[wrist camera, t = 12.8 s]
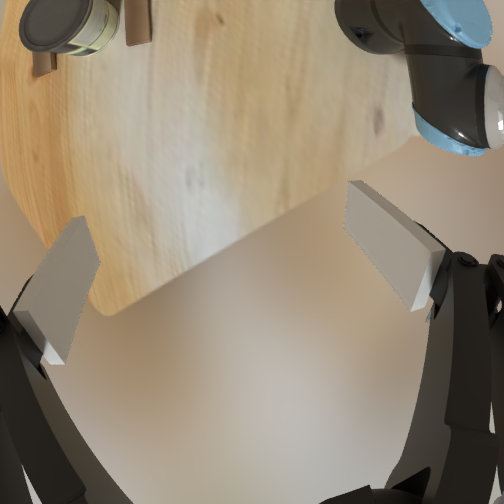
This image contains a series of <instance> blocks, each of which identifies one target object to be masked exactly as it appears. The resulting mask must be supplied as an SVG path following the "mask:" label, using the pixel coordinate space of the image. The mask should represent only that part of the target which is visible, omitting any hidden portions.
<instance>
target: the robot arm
mask: <svg viewBox="0 0 504 504" xmlns="http://www.w3.org/2000/svg"><path fill="white" fill-rule="evenodd" d="M335 14H336V18H337V21H338V23H339V25H340V27H341V29H342V31H343V32H344V34H345V35H346V36H347V37H348V38H349V40H350V41H351V42H353V43H354V44H355V45H356V46H358V47H359V48H361V49H363V50H364V51H367V52H369V53H373V54H380V55H382V54H394V53H397V52H399V51H401V50H403V49H404V48H405V54H406V59H407V65H408V71H409V77H410V84H411V91H412V99H413V102H412V108H413V111H414V114H415V122H416V127H417V130H418V131H419V132H420V134H421V136H422V137H423V138H425V139H426V140H427V141H428V142H430V143H431V144H433V145H435V146H437V147H439V148H441V149H444V150H447V151H449V152H452V153H456V154H461V155H462V154H463V153H464V154H466V155H468V156H480V155H482V154H484V153H485V152H486V150H487V149H488V148H490V149H493V150H496V149H497V148H498V147H500V146H501V145H503V144H504V76H503V75H502V74H501V72H500V71H499V70H498V69H497V67H495V66H492V65H486V64H483V60H481V59H482V53H481V48H483V47H485V46H487V45H488V44H489V43H490V41H491V37H490V36H491V35H492V22H491V19H490V15H489V13H488V10H487V8H486V6H485V4H484V2H483V0H336V1H335ZM344 230H345V231H346V232H347V233H348V234H349V235H350V237H351V238H352V239H353V240H354V241H355V242H356V243H357V245H358V246H359V247H360V248H361V249H362V251H363V252H364V253H365V254H366V256H367V257H368V258H369V259H370V261H371V262H372V263H373V264H374V265H375V266H376V268H377V269H378V270H379V271H380V273H381V274H382V275H383V277H384V278H385V279H386V280H387V282H388V283H389V284H390V286H391V287H392V288H393V289H394V291H395V292H396V293H397V295H398V296H399V297H400V299H401V300H402V301H403V303H404V304H405V305H406V306H407V308H408V309H409V311H410V312H411V311H414V310H418V309H421V308H424V307H425V304H426V302H427V300H428V297H429V295H430V297H431V298H432V299H433V300H434V303H433V305H432V308H431V310H430V312H429V314H428V316H427V319H426V322H428V321H429V319H430V327H429V335H428V343H427V350H426V357H425V363H424V368H423V374H422V380H421V384H420V389H419V394H418V399H417V403H416V407H415V411H414V415H413V419H412V423H411V427H410V430H409V433H408V437H407V440H406V443H405V447H404V450H403V453H402V456H401V458H400V460H399V462H398V464H397V465H396V467H395V468H394V469H393V471H392V473H391V475H390V476H389V478H388V481H387V483H386V486H385V488H384V489H371V488H370V485H367V486H364V487H362V488H359V489H356V490H354V491H351V492H348V493H345V494H342V495H339V496H336V497H333V498H329V499H327V500H325V501H323V502H321V503H320V504H488V503H489V500H490V496H491V492H492V487H493V482H494V478H495V473H496V466H497V468H498V477H499V485H500V490H501V494H502V496H500V497H498V498H497V499H496V500H495V502H494V504H504V256H503V255H499V254H493V255H491V258H490V260H489V263H488V265H486V264H479V262H478V261H477V260H476V259H475V258H474V257H473V256H471V255H470V254H467V253H465V252H454V253H453V252H452V251H451V250H450V249H449V248H448V247H446V245H444V244H443V243H442V242H441V241H440V240H439V239H438V238H435V236H434V235H433V234H432V233H430V232H429V230H427V229H426V228H425V227H424V226H423V225H421V224H419V223H417V222H415V221H413V220H412V219H410V218H409V217H408V216H407V215H406V214H404V213H403V212H402V211H401V210H399V209H398V208H397V207H396V206H395V205H393V204H392V203H391V202H389V201H388V200H387V199H386V198H384V197H383V196H382V195H380V194H379V193H378V192H376V191H375V190H374V189H372V188H371V187H370V186H368V185H367V184H366V183H364V182H363V181H361V180H357V181H348V190H347V201H346V211H345V221H344ZM100 263H101V262H100V259H99V256H98V254H97V251H96V248H95V245H94V243H93V240H92V237H91V234H90V231H89V228H88V225H87V222H86V219H85V216H80V217H76V218H72V219H71V220H70V221H69V223H68V224H67V226H66V227H65V228H64V230H63V231H62V232H61V234H60V235H59V237H58V238H57V240H56V241H55V242H54V244H53V245H52V247H51V248H50V250H49V251H48V253H47V255H46V256H45V258H44V259H43V261H42V262H41V264H40V265H39V267H38V269H37V270H36V272H35V273H34V274H33V275H32V276H31V277H30V279H28V280H27V282H26V283H25V285H24V287H23V288H22V291H21V292H20V294H19V295H18V298H17V299H16V301H15V302H14V304H13V306H12V308H11V310H10V312H9V314H8V316H6V314H5V313H4V311H3V309H2V308H1V306H0V504H33V502H32V499H31V496H30V493H29V490H28V486H27V483H26V480H25V476H24V472H23V468H22V465H23V467H24V470H25V472H26V474H27V476H28V478H29V480H30V482H31V484H32V486H33V488H34V490H35V492H36V494H37V495H38V497H39V499H40V501H41V502H42V504H133V503H132V502H131V500H130V499H129V498H128V497H127V496H126V495H125V494H124V493H123V491H122V490H121V489H120V488H119V486H118V485H117V484H116V483H115V482H114V480H113V479H112V478H111V476H110V475H109V474H108V473H107V471H106V470H105V469H104V467H103V466H102V465H101V463H100V462H99V461H98V459H97V458H96V456H95V455H94V454H93V452H92V451H91V449H90V448H89V446H88V445H87V443H86V442H85V440H84V439H83V437H82V436H81V434H80V433H79V431H78V429H77V428H76V426H75V424H74V423H73V421H72V419H71V418H70V416H69V414H68V413H67V411H66V409H65V407H64V405H63V404H62V402H61V400H60V398H59V396H58V394H57V392H56V390H55V388H54V387H53V385H52V383H51V381H50V378H49V376H48V374H47V372H46V370H45V368H44V367H43V365H42V364H41V363H40V360H41V357H42V354H43V356H44V357H45V358H46V360H47V361H48V362H49V363H50V364H66V360H67V357H68V353H69V350H70V346H71V343H72V340H73V336H74V333H75V330H76V327H77V324H78V321H79V318H80V315H81V312H82V309H83V306H84V304H85V301H86V298H87V295H88V293H89V290H90V288H91V285H92V282H93V280H94V277H95V275H96V272H97V270H98V267H99V265H100ZM500 300H501V302H502V308H501V310H500V311H499V312H498V310H497V306H498V304H499V302H500ZM491 403H492V409H493V417H494V426H495V434H494V433H491V432H490V430H489V422H490V410H491ZM21 463H22V464H21Z"/></svg>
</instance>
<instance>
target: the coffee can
mask: <svg viewBox="0 0 504 504" xmlns="http://www.w3.org/2000/svg"><path fill="white" fill-rule="evenodd" d="M118 26H119V15H118V12H117V10H116V8H115V7H114V6H113V5H112V4H110V3H108V2H107V1H106V0H30V1H29V3H28V4H27V6H26V8H25V10H24V12H23V14H22V17H21V20H20V24H19V36H20V39H21V42H22V43H23V45H24V46H25V47H26V48H27V49H28V50H30V51H33V52H39V53H42V52H50V53H60V54H68V55H74V56H78V57H86V56H90V55H93V54H95V53H97V52H99V51H101V50H102V49H104V48H105V47H106V46H107V45H108V44H109V43H110V42H111V41H112V39H113V38H114V36H115V34H116V33H117V30H118Z"/></svg>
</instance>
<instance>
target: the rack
mask: <svg viewBox="0 0 504 504" xmlns="http://www.w3.org/2000/svg"><path fill="white" fill-rule="evenodd" d="M124 8H125V30H126V45H127V46H129V47H130V46H134V45H138V44H143V43H147V42H151V28H150V9H149V0H124ZM32 53H33V68H34V77H40V76H43V75H45V74H47V73H50V72H52V71H54V70H57V68H56V56H55V53H50V52H42V53H39V52H33V51H32Z"/></svg>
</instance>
